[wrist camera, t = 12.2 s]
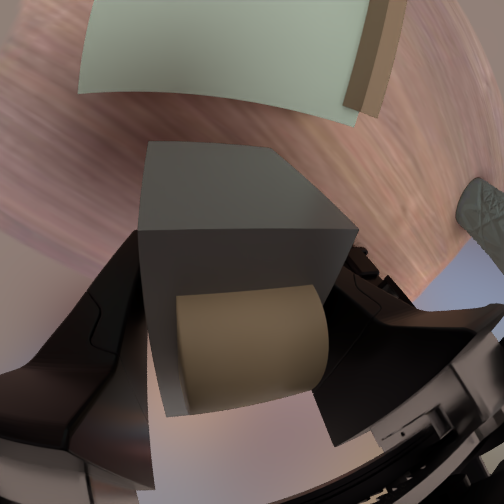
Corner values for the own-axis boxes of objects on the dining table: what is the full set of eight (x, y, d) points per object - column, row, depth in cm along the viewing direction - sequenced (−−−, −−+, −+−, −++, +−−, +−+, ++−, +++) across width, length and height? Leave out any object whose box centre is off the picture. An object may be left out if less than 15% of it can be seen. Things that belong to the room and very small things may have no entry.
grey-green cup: (481, 161, 27) (541, 205, 19) (488, 194, 33) (535, 235, 24) (446, 211, 31) (505, 264, 22) (458, 237, 37) (504, 282, 28)
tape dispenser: (234, 310, 13) (281, 435, 9) (153, 316, 12) (174, 455, 7) (270, 148, 9) (409, 284, 4) (148, 141, 7) (136, 318, 3)
